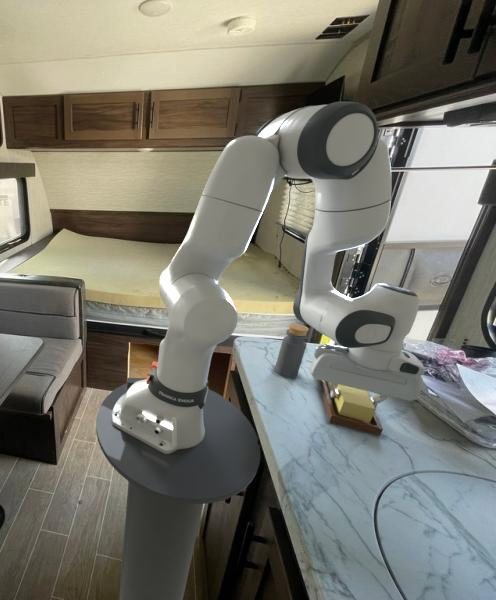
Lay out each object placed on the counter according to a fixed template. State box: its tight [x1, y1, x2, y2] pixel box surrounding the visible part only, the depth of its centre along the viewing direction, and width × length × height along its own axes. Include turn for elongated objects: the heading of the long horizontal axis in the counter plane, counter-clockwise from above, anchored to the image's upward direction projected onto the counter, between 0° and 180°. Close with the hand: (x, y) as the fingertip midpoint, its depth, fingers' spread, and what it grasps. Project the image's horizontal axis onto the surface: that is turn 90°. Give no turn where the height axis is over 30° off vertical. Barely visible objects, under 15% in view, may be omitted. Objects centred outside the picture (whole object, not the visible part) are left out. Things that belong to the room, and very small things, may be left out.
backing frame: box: [318, 380, 384, 437], centre depth 83 cm, size 10×23×2 cm, turn 154°
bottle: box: [274, 323, 310, 379], centre depth 92 cm, size 6×6×15 cm
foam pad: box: [334, 384, 377, 423], centre depth 78 cm, size 6×9×4 cm, turn 154°
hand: (352, 401), depth 78 cm, fingers closed on foam pad, 6 cm apart
